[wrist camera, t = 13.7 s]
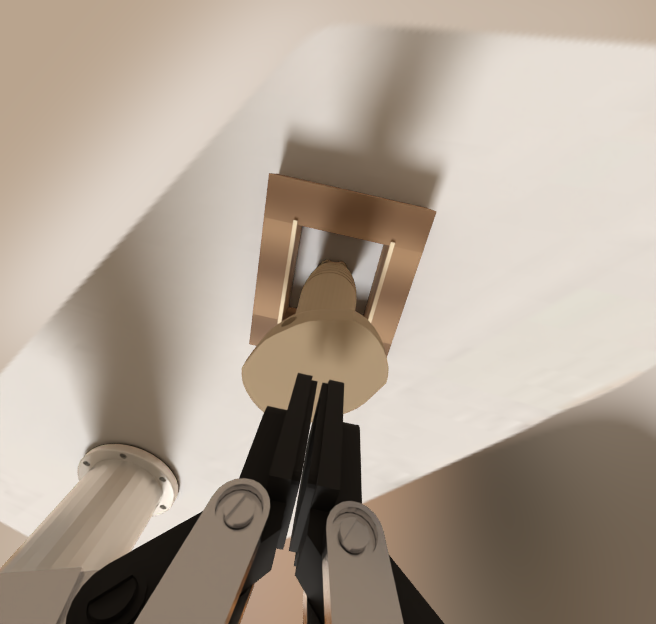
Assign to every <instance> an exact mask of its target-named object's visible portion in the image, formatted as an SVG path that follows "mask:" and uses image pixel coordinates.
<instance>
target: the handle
mask: <svg viewBox="0 0 656 624" xmlns="http://www.w3.org/2000/svg"><path fill="white" fill-rule="evenodd" d="M355 308H356V287H355V282H354V279H353V277H352V275H351V273H350V272H349V270H348V269H347V266H346V264H345V263H344V262H343V261H340V262H332V261H329V260H325V261H323V262H321V263H320V265H319V267H317V268H316V269H315V270H314V271H313V272H312V273H311V275H310V276H309V278H308V279H307V281H306V283H305V285H304V287H303V289H302V292H301V295H300V299H299V303H298V307H297V311H296V314H295V315H292V316H290V317H289V318H287V319H285V320H284V321H282V322H281V323H279V324H278V325H276V326H275V327H273V328H272V329H271V330H270V331H269V332H268V333H267V334H266V335H265V336H264V337H263V339H262V340H261V341H260V342H259V344H258V345H257V346H256V348H255V349H254V350H253V352H252V353H251V354H250V356H249V357H248V359H247V360H246V362H245V364H244V365H243V367H242V380H243V384H244V387H245V389H246V391H247V393H248V395H249V396H250V398H251V399H252V401H253V402H254V403H255V404H256V405H257V406H258V408H260V409H261V410H262V411H263V412H265V409H266V407H267V406H271V407H276V408H280V409H285V410H287V409H288V406H289V402H290V399H291V395H292V392H293V388H294V385H295V381H296V377H297V374H298V373H302V374H306V375H311V376H313V377H312V380H314V381H318V383H317V389H316V395H315V401H314V406H313V412H312V418H311V422H313V418H314V414H315V410H316V406H317V402H318V398H319V394H320V390H321V386H322V383H328V381H329V380H334V381H338V382H343V383H344V406H343V414H345V413H348V412H350V411H352V410H354V409H357V408H358V407H360V406H361V405H363V404H364V403H365V402H366V401H368V400H369V399H370V398H371V397H372V396H373V395H374V394H375V393H376V392H377V391H378V390H379V389H380V388H381V387H383V386H384V385H385V384H386V382H387V377H388V363H387V357H386V352H385V348H384V345H383V343H382V340H381V338H380V336H379V334H378V332H377V331H376V329H375V327H374V326H373V325H372V324H371V323H370V322H369V321H368V319H366V318H365V317H364V316H362V315H361V314H359V313H358V312H356V311H355Z"/></svg>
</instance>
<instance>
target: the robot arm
mask: <svg viewBox="0 0 656 624" xmlns="http://www.w3.org/2000/svg"><path fill="white" fill-rule="evenodd" d="M312 377H313V376H311V375H306V374H302V373H298V374H297V377H296V381H295V385H294V388H293V392H292V395H291V399H290V402H289V406H288V409H287V410H285V409H280V408H276V407H271V406H267V407H266V409H265V412H264V414H263V417H262V420H261V422H260V425H259V428H258V430H257V433H256V435H255V438H254V441H253V443H252V446H251V449H250V451H249V454H248V457H247V459H246V462H245V464H244V467H243V470H242V472H241V475H240V478H239V479H234V480H232V481H229V482H227V483H225V484H224V485H222V486H221V487H220V488H219V489H218V490H217V491H216V492H215V493H214V495H213V496H212V498H211V499H210V501H209V502H208V504H207V506H206V507H205V509H204V511H202V512H201V513H199V514H197V515H195V516H193V517H192V518H190V519H188V520H186V521H184V522H183V523H181V524H179V525H177V526H175V527H174V528H172V529H170V530H168V531H166V532H165V533H163V534H161V535H159V536H157V537H156V538H154V539H152V540H150V541H148V542H147V543H145V544H143V545H141V546H139V547H138V548H136V549H134V550H132V549H133V547H134V545H135V544H136V542H137V540H138V539H139V537H140V535H141V533H142V532H143V530H144V528H145V527H146V525H147V523H148V522H149V520H150V518H151V517H153V516H157V515H160V514H163V513H164V512H166V511H167V510H169V509H170V507H171V506H172V505H173V503H174V501H175V500H176V498H177V494H178V484H177V480H176V478H175V476H174V474H173V473H172V471H171V470H170V469H169V468H168V466H166V465H165V464H164V463H163V462H162V461H161V460H160V459H158V458H157V457H155V456H154V455H152V454H150V453H148V452H146V451H144V450H142V449H139V448H136V447H133V446H129V445H123V444H106V445H101V446H98V447H96V448H93V449H92V450H91V451H89V452H88V453H87V454H86V455H85V456H84V457H83V458H82V459H81V461H80V463H79V465H78V478H79V482H78V483H77V484H76V485H75V487H74V488H73V489H72V490H71V491H70V492H69V493H68V494H67V495H66V497H65V498H64V499H63V500H62V501H61V502H60V503H59V504H58V505H57V506H56V508H55V509H54V510H53V511H52V512H51V513H50V514H49V515H48V516H47V517H46V519H45V520H44V521H43V522H42V523H41V524H40V525H39V526H38V527H37V529H36V530H35V531H34V532H33V533H32V534H31V535H30V536H29V537H28V538H27V540H26V541H25V542H24V543H23V544H22V545H21V546H20V547H19V548H18V549H17V551H16V552H15V553H14V554H13V555H12V556H11V557H10V558H9V559H8V561H7V562H6V563H5V564H4V565H3V566H2V567H1V568H0V624H240V623H241V620H242V618H243V615H244V612H245V609H246V607H247V604H248V601H249V599H250V596H251V593H252V591H253V588H254V584H255V582H257V581H258V580H259V579H260V578H262V577H263V576H264V575H265V574H267V573H268V572H269V571H270V570H271V568H272V564H273V560H274V556H275V551H276V548H277V549H283V547H284V544H285V540H286V536H287V532H288V528H289V524H290V520H291V516H292V512H293V509H294V505H295V501H296V497H297V493H298V489H299V484H300V489H299V495H298V501H297V506H296V512H295V518H294V524H293V530H292V535H291V541H290V547H289V551H292V552H296V555H295V561H294V566H296V572H295V576H296V577H297V579H298V581H299V583H300V584H301V586H302V588H303V590H304V593H303V624H444V623H443V621H442V620H441V619H440V618H439V616H438V615H437V614H436V613H435V611H434V610H433V609H432V608H431V607H430V606H429V604H428V603H427V602H426V600H425V599H424V598H423V597H422V595H421V594H420V593H419V592H418V590H416V588H415V587H414V585H413V584H412V583H411V582H410V580H409V579H408V578H407V577H406V575H405V574H404V573H403V572H402V571H401V569H400V568H399V567H398V565H396V563H395V562H394V561H393V559H392V558H391V557H390V556H389V554H388V549H387V545H386V540H385V535H384V531H383V528H382V526H381V523H380V521H379V519H378V518H377V516H376V515H375V514H374V513H373V512H372V511H371V510H370V509H369V508H368V507H367V506H365V505H363V504H362V491H361V453H360V427H359V426H358V425H354V424H349V423H345V422H343V406H344V383H343V382H338V381H334V380H329V381H328V383H322V386H321V390H320V394H319V398H318V402H317V406H316V410H315V414H314V418H313V422H312V426H311V430H310V434H309V429H310V424H311V418H312V412H313V406H314V401H315V395H316V389H317V383H318V381H314V380H312ZM308 435H309V438H308ZM307 441H308V443H307ZM306 447H307V448H306ZM305 452H306V454H305ZM304 458H305V460H304ZM303 464H304V466H303ZM302 470H303V472H302ZM301 475H302V477H301ZM300 480H301V483H300ZM131 550H132V551H131Z"/></svg>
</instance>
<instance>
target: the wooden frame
mask: <svg viewBox="0 0 656 624" xmlns="http://www.w3.org/2000/svg"><path fill="white" fill-rule="evenodd" d="M435 215H436V211H434V210H431V209H428V208H425V207H420V206H416V205H411V204H407V203H403V202H398V201H394V200H390V199H385V198H381V197H376V196H372V195H368V194H363V193H359V192H355V191H350V190H346V189H342V188H337V187H333V186H328V185H324V184H320V183H315V182H311V181H307V180H302V179H298V178H293V177H289V176H285V175H280V174H271V173H269V179H268V188H267V196H266V205H265V213H264V222H263V230H262V239H261V248H260V256H259V265H258V273H257V282H256V291H255V299H254V308H253V316H252V325H251V334H250V342H249V344H251V345H256V346H257V345H258V344H259V342H260V341H261V340H262V339H263V337H264V336H265V335H266V334H267V333H268V332H269V331H270V330H271V329H272V328H273V327H275V326H276V325H278V324H279V323H281V322H282V321H284V320H285V319H287V318H289V317H290V316H292V315H295V314H296V311H297V308H292V307H289V301H290V295H291V289H292V283H293V277H294V272H295V266H296V260H297V254H298V248H299V242H300V236H301V230H302V226H305V227H309V228H314V229H318V230H323V231H327V232H331V233H336V234H340V235H345V236H349V237H354V238H358V239H362V240H367V241H371V242H376V243H380V244H384V245H383V249H382V252H381V256H380V259H379V263H378V266H377V270H376V273H375V277H374V280H373V284H372V287H371V291H370V294H369V298H368V302H367V305H366V309H365V312H364V317H365V318H366V319H368V321H369V322H370V323H371V324H372V325H373V326H374V327H375V329H376V331H377V332H378V334H379V336H380V338H381V340H382V343H383V345H384V348H385V352H386V357H387V355H388V352H389V349H390V346H391V343H392V340H393V338H394V335H395V332H396V329H397V326H398V323H399V320H400V317H401V314H402V311H403V308H404V305H405V302H406V299H407V297H408V294H409V291H410V288H411V285H412V282H413V279H414V276H415V273H416V270H417V267H418V264H419V261H420V258H421V256H422V253H423V250H424V247H425V244H426V241H427V238H428V235H429V232H430V229H431V226H432V223H433V220H434V217H435Z"/></svg>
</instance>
